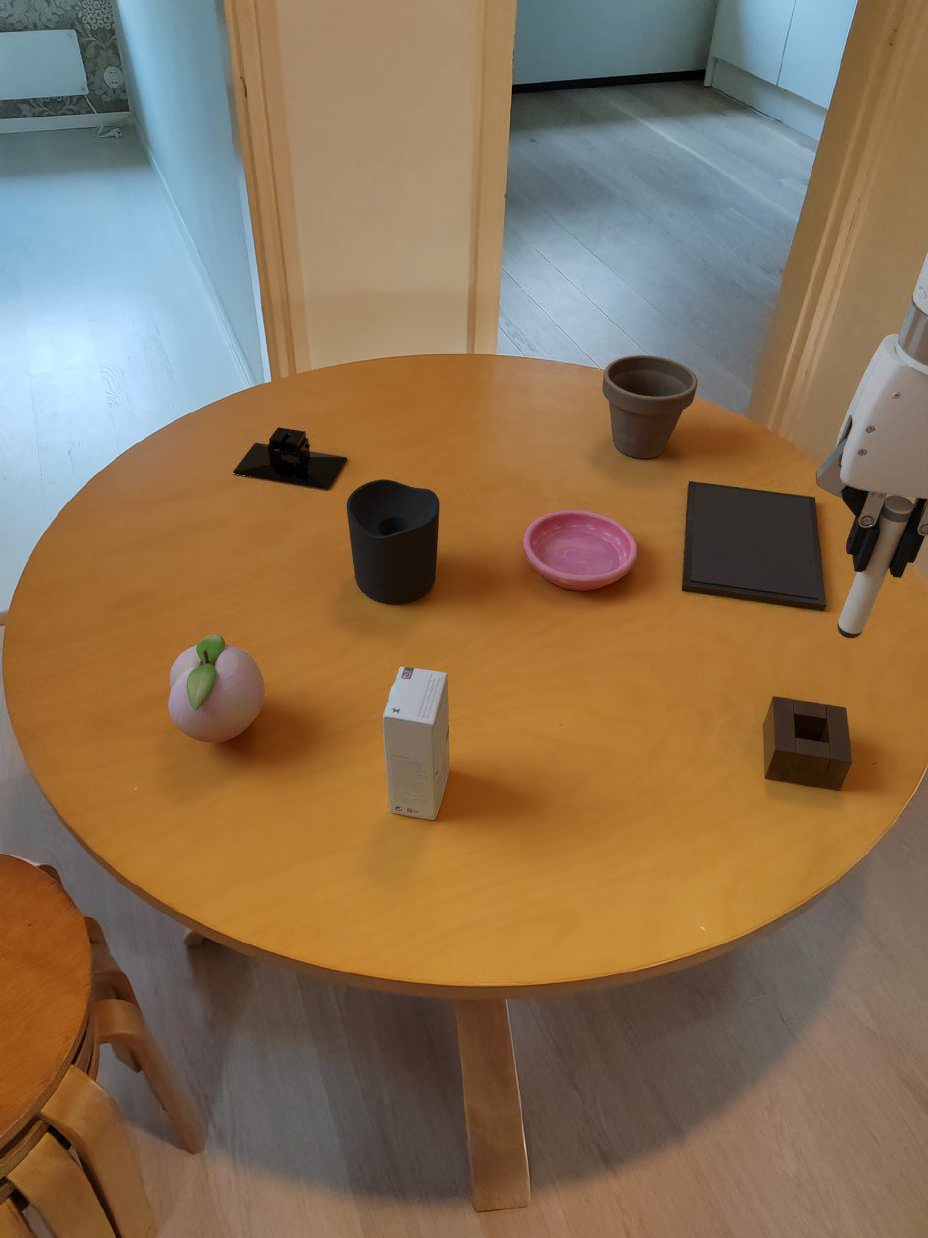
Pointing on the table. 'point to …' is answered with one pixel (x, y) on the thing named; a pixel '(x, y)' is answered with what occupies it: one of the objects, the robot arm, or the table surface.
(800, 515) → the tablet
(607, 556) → the saucer
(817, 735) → the pen stand
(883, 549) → the stylus
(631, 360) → the flower pot
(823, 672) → the table surface
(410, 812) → the cosmetic box
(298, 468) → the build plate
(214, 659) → the decorative fruit
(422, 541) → the pen holder
